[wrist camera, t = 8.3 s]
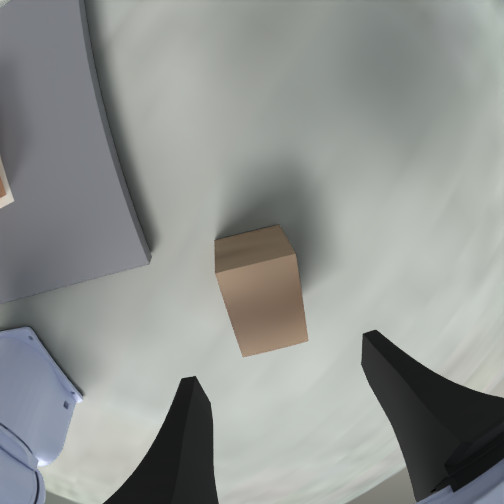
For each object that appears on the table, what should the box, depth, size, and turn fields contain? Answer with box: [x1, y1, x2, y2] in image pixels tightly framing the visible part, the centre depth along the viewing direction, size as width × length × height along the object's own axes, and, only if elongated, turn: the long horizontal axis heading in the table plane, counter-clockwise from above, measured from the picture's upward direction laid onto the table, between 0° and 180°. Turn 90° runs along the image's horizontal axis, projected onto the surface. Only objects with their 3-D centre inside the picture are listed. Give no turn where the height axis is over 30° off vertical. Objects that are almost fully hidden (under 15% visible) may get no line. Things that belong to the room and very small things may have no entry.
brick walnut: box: [214, 225, 308, 357], centre depth 18 cm, size 6×4×4 cm, turn 12°
